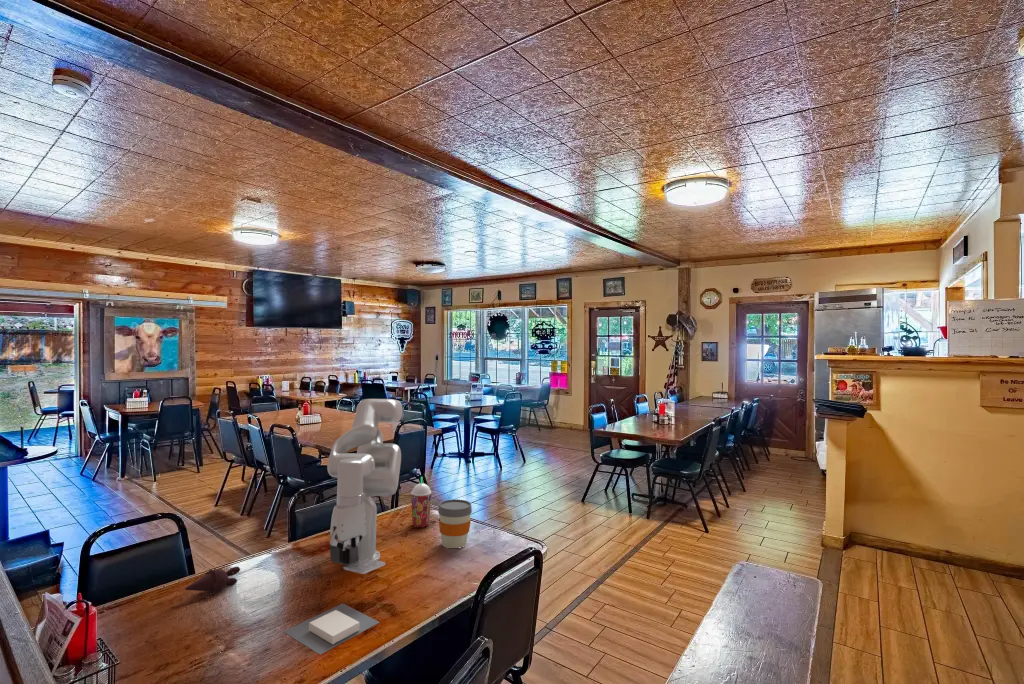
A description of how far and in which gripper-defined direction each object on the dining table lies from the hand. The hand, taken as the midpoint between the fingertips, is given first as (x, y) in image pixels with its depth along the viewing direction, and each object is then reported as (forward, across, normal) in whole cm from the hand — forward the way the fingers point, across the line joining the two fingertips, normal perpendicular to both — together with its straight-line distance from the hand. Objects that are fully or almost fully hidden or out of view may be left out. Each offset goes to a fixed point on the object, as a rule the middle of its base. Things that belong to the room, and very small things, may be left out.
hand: (348, 560), depth 156 cm
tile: (+7, +17, +12) cm, 22 cm away
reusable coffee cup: (+9, -46, +2) cm, 47 cm away
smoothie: (+8, -52, -22) cm, 58 cm away
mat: (+9, +16, +15) cm, 23 cm away
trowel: (+1, 0, +3) cm, 3 cm away
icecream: (+9, +25, -30) cm, 40 cm away
